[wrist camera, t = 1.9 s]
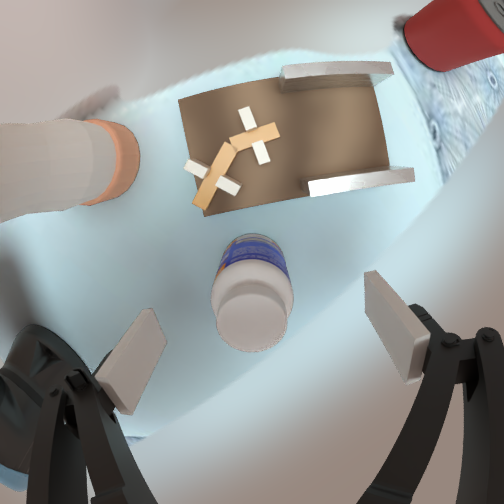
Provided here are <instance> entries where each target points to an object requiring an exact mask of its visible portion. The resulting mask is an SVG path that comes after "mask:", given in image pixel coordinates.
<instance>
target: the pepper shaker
mask: <svg viewBox="0 0 504 504" xmlns="http://www.w3.org/2000/svg"><path fill="white" fill-rule="evenodd" d="M139 161H140V152H139V147H138V142H137V141H136V139H135V137H134V135H133V133H132V132H131V131H130V130H129V129H127V128H126V127H125V126H123V125H120V124H117V123H114V122H109V121H105V120H99V119H90V120H85V121H79V120H74V119H69V118H68V119H59V120H52V121H45V122H39V123H33V124H0V223H2V222H5V221H8V220H10V219H13V218H16V217H19V216H22V215H25V214H30V213H41V212H52V211H63V210H66V209H68V208H71V207H74V206H76V205H88V206H91V205H94V204H97V203H100V202H103V201H106V200H109V199H113V198H116V197H119V196H120V195H121V194H123V193H124V192H125V191H127V190H128V188H129V187H130V186H131V184H132V183H133V181H134V180H135V177H136V175H137V172H138V169H139Z"/></svg>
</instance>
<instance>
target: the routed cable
mask: <svg viewBox="0 0 504 504" xmlns="http://www.w3.org/2000/svg"><path fill="white" fill-rule="evenodd" d="M238 111H239V114H240V116H241V119H242V122H243V124H244V127H245V129H246V132H244V133H241V134H238V135H235V136H233V137H230V138H229V139H230V142H231V144H232V145H231V144H229V143H227V142H224V144H223V146H222V147H221V149H220V151H219V153H218V154H217V156H216V158H215V160H214V162H213V164H212V165H211V167H210V166H208V165H206V164H204V163H202V162H201V161H199V160H197V159H188V160H187V162H186V164H185V166H184V168H183V169H185V170H187V171H188V172H190V173H192V174H194V175H196V176H198V177H200V178H202V179H204V180H203V182H202V184H201V186H200V188H199V190H198V192H197V194H196V196H195V198H194V200H193V202H192V204H194V205H196V206H198V207H200V208H201V209H203V210H206V209H208V207H209V205H210V203H211V201H212V199H213V197H214V196H215V194H216V192H217V190H218V188H221V189H222V190H224V191H226V192H228V193H230V194H232V195H234V196H236V194H237V193H238V191H239V190H240V188H241V186H242V183H240V182H238V181H236V180H235V179H233V178H231V177H229V176H227V175H226V173H227V172H228V170H229V168H230V166H231V164H232V163H233V161H234V159H235V157H236V156H237V154H238V152H240V151H243V150H246V149H248V148H251V147H253V149H254V152H255V154H256V157H257V160H258V162H259V165H261V164H264V163H267V162H270V158H269V156H268V153H267V150H266V148H265V145H264V143H266V142H269V141H272V140H275V139H278V138H280V135H279V132H278V130H277V127H276V125H275V122H273V123H270V124H267V125H264V126H261V127H258V128H257V125H256V123H255V120H254V118H253V115H252V112H251V110H250V107H249V106H248V107H245V108H242V109H239V110H238Z"/></svg>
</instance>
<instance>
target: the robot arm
mask: <svg viewBox="0 0 504 504" xmlns="http://www.w3.org/2000/svg"><path fill="white" fill-rule="evenodd" d="M364 286H365V313H366V315H367V316H368V318H369V320H370V322H371V323H372V325H373V327H374V328H375V330H376V332H377V334H378V335H379V337H380V339H381V341H382V342H383V344H384V346H385V348H386V350H387V351H388V353H389V355H390V357H391V359H392V360H393V362H394V364H395V366H396V368H397V370H398V372H399V373H400V375H401V377H402V379H403V381H404V383H405V385H408V384H411V383H414V382H417V381H419V380H420V378H421V375H422V371H423V373H424V378H423V380H422V384H421V386H420V389H419V391H418V394H417V397H416V399H415V401H414V404H413V406H412V408H411V411H410V413H409V415H408V418H407V420H406V422H405V424H404V426H403V428H402V430H401V432H400V435H399V437H398V439H397V440H396V442H395V444H394V446H393V448H392V450H391V452H390V454H389V455H388V457H387V459H386V461H385V463H384V464H383V466H382V468H381V469H380V471H379V473H378V474H377V476H376V477H375V479H374V480H373V482H372V483H371V485H370V486H369V487H368V488H367V490H366V491H365V492H364V494H363V495H362V497H361V498H360V499H359V501H358V502H357V503H356V504H410V503H411V501H412V496H413V494H414V492H415V490H416V488H417V486H418V484H419V482H420V480H421V478H422V476H423V474H424V472H425V470H426V468H427V465H428V463H429V461H430V458H431V456H432V453H433V451H434V448H435V446H436V443H437V441H438V438H439V435H440V432H441V429H442V427H443V424H444V421H445V418H446V414H447V411H448V408H449V404H450V400H451V397H452V393H453V389H454V385H455V384H460V383H462V384H463V400H464V440H463V456H462V467H461V475H460V482H459V489H458V494H457V500H456V504H504V346H503V343H502V340H501V337H500V334H499V333H498V332H497V331H496V330H495V329H493V328H488V327H485V328H481V329H480V330H478V332H477V333H476V337H475V338H472V339H465V340H461V338H460V337H459V336H458V335H456V334H454V333H446V332H445V331H444V330H443V329H442V328H441V327H440V326H439V324H438V323H437V322H436V321H435V320H434V319H432V317H431V316H430V315H429V314H428V312H427V311H426V310H425V309H424V308H423V307H421V306H419V305H417V304H413V305H409V306H407V305H406V304H405V302H404V301H403V300H402V299H401V298H400V297H399V296H398V294H397V293H396V292H395V291H394V290H393V289H392V288H391V286H390V285H389V284H388V283H387V282H386V281H385V280H384V279H383V278H382V277H381V275H380V274H379V273H378V272H377V271H376V270H375V271H370V272H365V273H364ZM166 344H167V341H166V339H165V336H164V334H163V332H162V329H161V327H160V325H159V322H158V320H157V318H156V315H155V313H154V310H153V308H150V309H143V310H142V311H141V313H140V314H139V315H138V317H137V318H136V319H135V321H134V322H133V323H132V325H131V326H130V327H129V329H128V330H127V331H126V333H125V334H124V335H123V337H122V338H121V340H120V341H119V342H118V344H117V345H116V347H115V348H114V349H113V350H111V351H110V352H109V353H108V354H107V355H106V356H105V357H104V359H103V360H102V362H101V363H100V364H99V366H98V367H97V369H96V370H95V371H94V373H93V374H92V376H91V375H90V373H89V371H88V369H87V368H86V366H85V365H84V363H83V362H82V361H81V359H80V358H79V357H78V356H77V355H76V353H75V352H74V351H73V350H72V349H71V348H70V347H69V346H68V345H67V344H66V343H65V342H64V341H63V340H61V339H60V338H59V337H58V336H56V335H55V334H54V333H52V332H51V331H49V330H47V329H45V328H43V327H41V326H38V325H28V326H26V327H25V328H24V329H23V330H22V331H21V332H20V333H19V334H18V335H17V336H16V338H15V340H14V343H13V345H12V347H11V349H10V352H9V354H8V357H7V359H6V361H5V364H4V366H3V367H2V368H1V369H0V483H2V484H3V485H5V486H7V487H8V488H10V489H13V490H15V491H19V492H21V491H25V490H27V501H26V504H88V495H87V476H86V466H87V469H88V473H89V476H90V479H91V482H92V486H93V489H94V492H95V497H92V498H91V504H158V503H157V501H156V500H155V498H154V496H153V494H152V493H151V491H150V489H149V487H148V485H147V484H146V482H145V480H144V478H143V476H142V474H141V472H140V470H139V468H138V466H137V464H136V462H135V460H134V458H133V455H132V453H131V451H130V449H129V447H128V444H127V442H126V440H125V437H124V435H123V432H122V430H121V427H120V425H119V422H118V419H117V417H116V415H115V413H114V412H113V410H114V408H115V407H116V408H117V409H118V411H119V412H120V413H121V414H126V415H133V413H134V411H135V408H136V406H137V404H138V402H139V400H140V398H141V396H142V393H143V391H144V389H145V387H146V385H147V383H148V381H149V379H150V377H151V375H152V372H153V370H154V368H155V366H156V364H157V362H158V360H159V358H160V356H161V354H162V352H163V350H164V348H165V346H166ZM64 423H65V424H64Z"/></svg>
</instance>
